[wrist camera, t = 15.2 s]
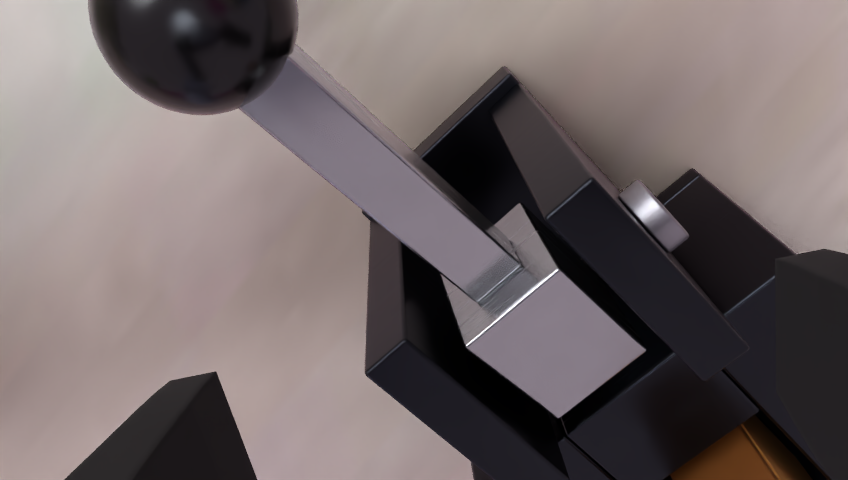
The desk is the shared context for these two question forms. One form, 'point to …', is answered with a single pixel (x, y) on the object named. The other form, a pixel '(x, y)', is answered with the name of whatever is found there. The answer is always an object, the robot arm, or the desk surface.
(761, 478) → the toast
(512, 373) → the lever
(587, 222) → the lever bracket
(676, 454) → the toaster
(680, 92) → the desk surface
